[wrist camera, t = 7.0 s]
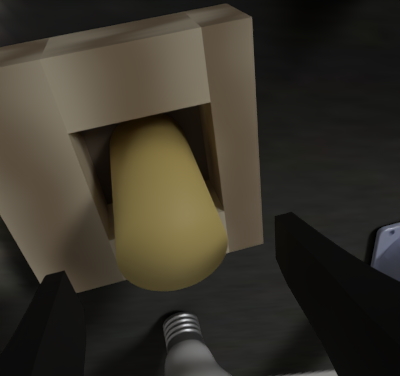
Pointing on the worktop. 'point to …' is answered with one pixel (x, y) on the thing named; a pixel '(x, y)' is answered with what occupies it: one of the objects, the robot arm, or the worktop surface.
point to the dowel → (162, 207)
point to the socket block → (110, 118)
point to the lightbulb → (187, 348)
